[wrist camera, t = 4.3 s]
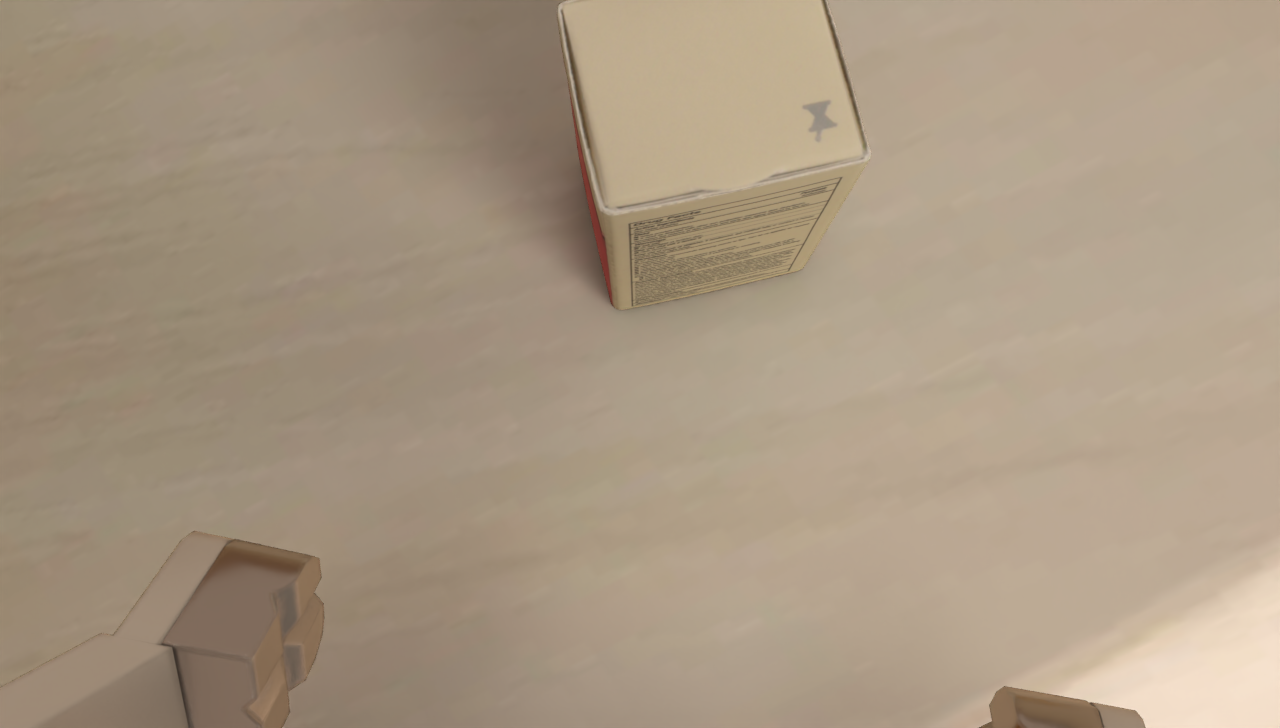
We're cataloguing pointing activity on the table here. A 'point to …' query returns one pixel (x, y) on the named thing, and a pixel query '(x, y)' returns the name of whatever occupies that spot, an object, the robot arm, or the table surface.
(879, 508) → the table surface
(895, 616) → the table surface
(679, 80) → the small box
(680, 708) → the table surface
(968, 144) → the table surface
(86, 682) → the robot arm
